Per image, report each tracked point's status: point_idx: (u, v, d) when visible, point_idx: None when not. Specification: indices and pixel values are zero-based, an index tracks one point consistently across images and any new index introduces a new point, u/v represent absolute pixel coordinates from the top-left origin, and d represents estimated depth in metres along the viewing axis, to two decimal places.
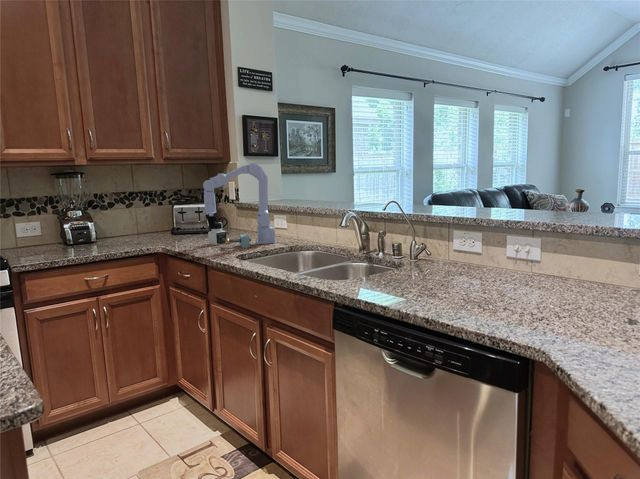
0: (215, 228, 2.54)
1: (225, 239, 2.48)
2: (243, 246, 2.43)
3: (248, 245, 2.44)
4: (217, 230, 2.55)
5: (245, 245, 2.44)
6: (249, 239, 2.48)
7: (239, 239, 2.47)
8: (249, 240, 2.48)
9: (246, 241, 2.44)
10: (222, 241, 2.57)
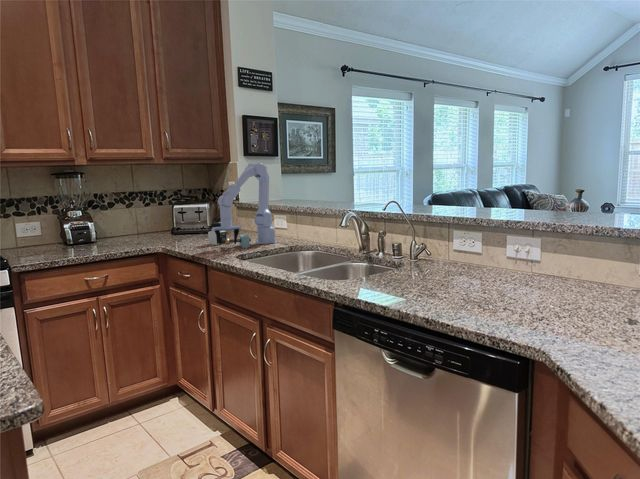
0: None
1: (225, 239, 2.48)
2: (243, 246, 2.43)
3: (248, 245, 2.44)
4: None
5: (245, 245, 2.44)
6: (249, 239, 2.48)
7: (239, 239, 2.47)
8: (249, 240, 2.48)
9: (246, 241, 2.44)
10: (222, 241, 2.57)
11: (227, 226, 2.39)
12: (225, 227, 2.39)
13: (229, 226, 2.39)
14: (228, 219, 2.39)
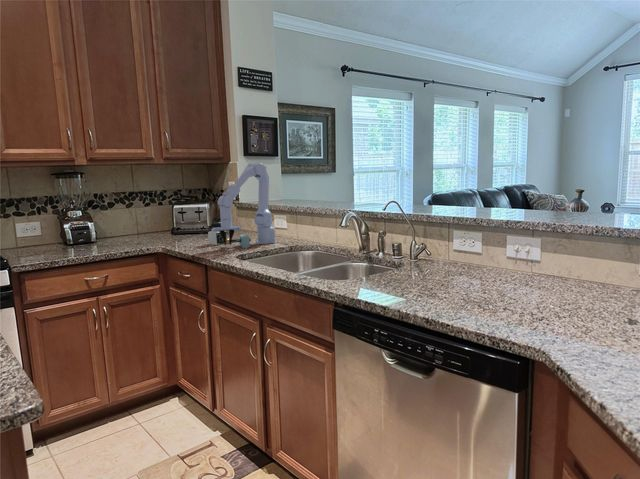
0: None
1: (225, 239, 2.48)
2: (243, 246, 2.43)
3: (248, 245, 2.44)
4: None
5: (245, 245, 2.44)
6: (249, 239, 2.48)
7: (239, 239, 2.47)
8: (249, 240, 2.48)
9: (246, 241, 2.44)
10: (222, 241, 2.57)
11: (227, 226, 2.39)
12: (225, 227, 2.39)
13: (229, 226, 2.39)
14: (228, 219, 2.39)
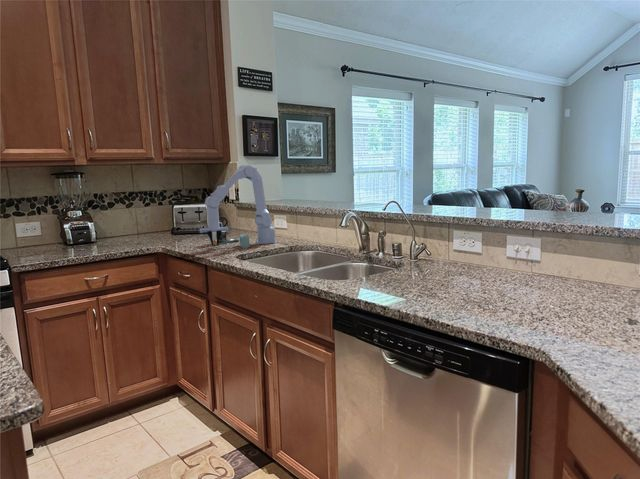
0: None
1: (213, 240, 2.46)
2: (243, 246, 2.43)
3: (248, 245, 2.44)
4: None
5: (245, 245, 2.44)
6: (237, 240, 2.46)
7: (227, 240, 2.45)
8: (237, 241, 2.46)
9: (246, 241, 2.44)
10: None
11: (214, 227, 2.37)
12: (212, 228, 2.37)
13: (216, 227, 2.38)
14: (215, 220, 2.37)
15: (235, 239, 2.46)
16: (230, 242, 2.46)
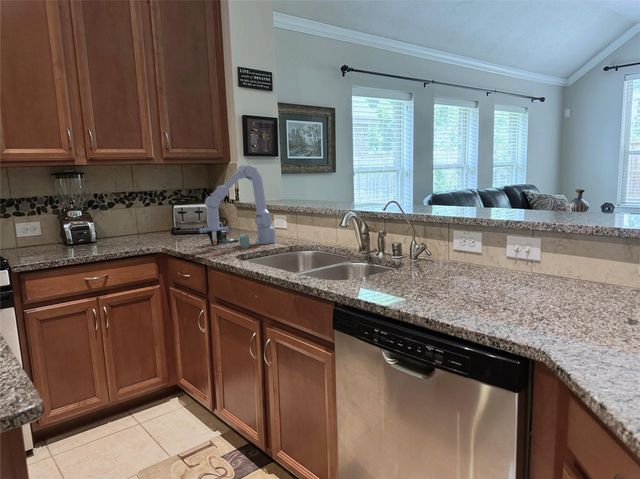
0: None
1: (213, 240, 2.46)
2: (243, 246, 2.43)
3: (248, 245, 2.44)
4: None
5: (245, 245, 2.44)
6: (237, 240, 2.46)
7: (227, 240, 2.45)
8: (237, 241, 2.46)
9: (246, 241, 2.44)
10: None
11: (214, 227, 2.37)
12: (212, 228, 2.37)
13: (216, 227, 2.38)
14: (215, 220, 2.37)
15: (235, 239, 2.46)
16: (230, 242, 2.46)
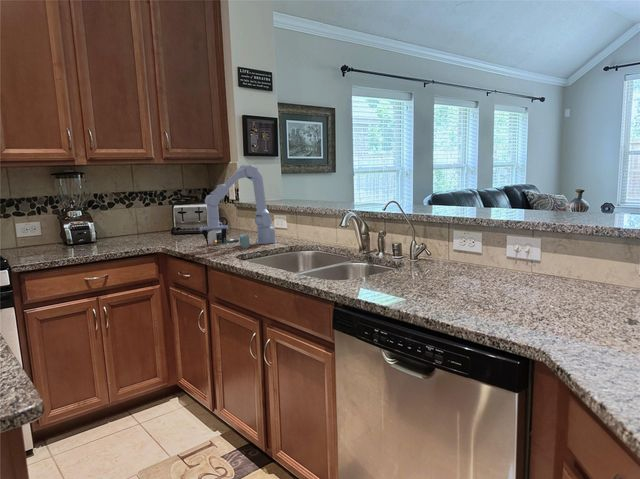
0: None
1: (213, 240, 2.46)
2: (243, 246, 2.43)
3: (248, 245, 2.44)
4: (217, 230, 2.55)
5: (245, 245, 2.44)
6: (237, 240, 2.46)
7: (227, 240, 2.45)
8: (237, 241, 2.46)
9: (246, 241, 2.44)
10: None
11: (214, 226, 2.37)
12: (212, 227, 2.37)
13: (216, 226, 2.38)
14: (215, 219, 2.37)
15: (235, 239, 2.46)
16: (230, 242, 2.46)
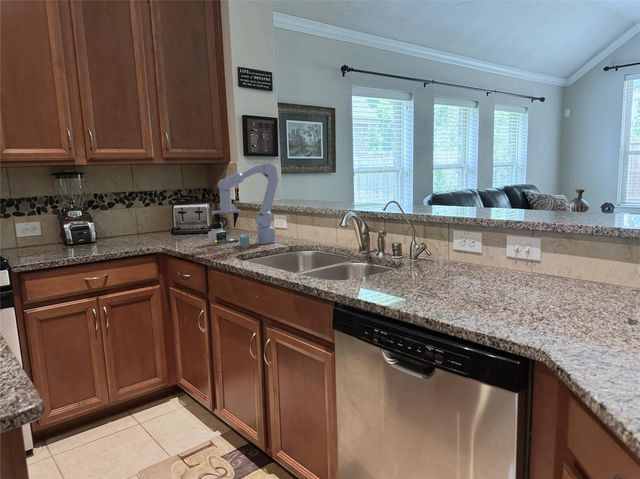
0: (215, 228, 2.54)
1: (213, 240, 2.46)
2: (243, 246, 2.43)
3: (248, 245, 2.44)
4: (217, 230, 2.55)
5: (245, 245, 2.44)
6: (237, 240, 2.46)
7: (227, 240, 2.45)
8: (237, 241, 2.46)
9: (246, 241, 2.44)
10: None
11: (227, 209, 2.42)
12: (225, 210, 2.42)
13: (229, 209, 2.43)
14: (228, 203, 2.42)
15: (235, 239, 2.46)
16: (230, 242, 2.46)
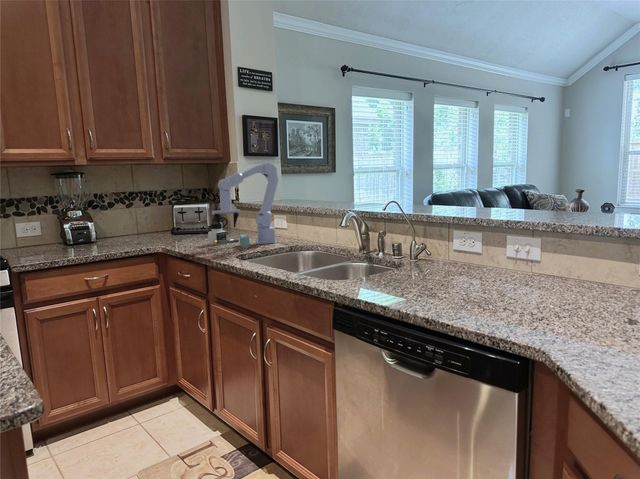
0: (215, 228, 2.54)
1: (213, 240, 2.46)
2: (243, 246, 2.43)
3: (248, 245, 2.44)
4: (217, 230, 2.55)
5: (245, 245, 2.44)
6: (237, 240, 2.46)
7: (227, 240, 2.45)
8: (237, 241, 2.46)
9: (246, 241, 2.44)
10: None
11: (227, 209, 2.42)
12: (225, 210, 2.42)
13: (229, 209, 2.43)
14: (228, 203, 2.42)
15: (235, 239, 2.46)
16: (230, 242, 2.46)
